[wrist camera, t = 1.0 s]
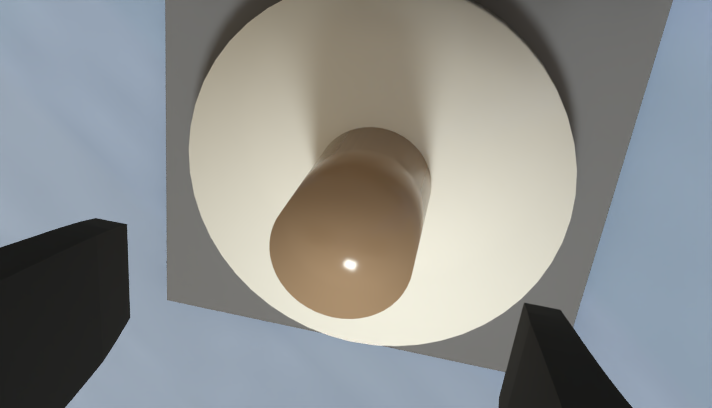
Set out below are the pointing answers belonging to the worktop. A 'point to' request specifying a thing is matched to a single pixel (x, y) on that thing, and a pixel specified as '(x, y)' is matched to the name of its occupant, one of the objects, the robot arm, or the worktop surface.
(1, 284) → the robot arm
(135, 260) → the worktop surface
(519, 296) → the lid
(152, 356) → the worktop surface
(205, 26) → the mat
